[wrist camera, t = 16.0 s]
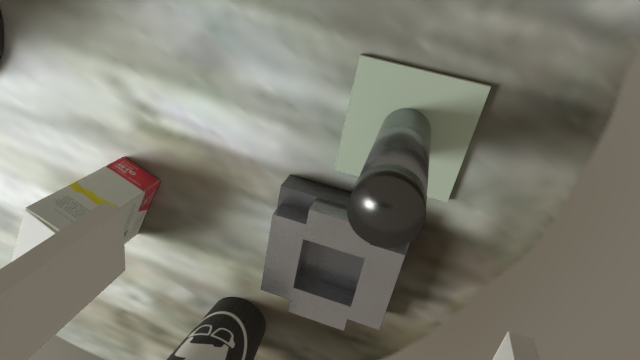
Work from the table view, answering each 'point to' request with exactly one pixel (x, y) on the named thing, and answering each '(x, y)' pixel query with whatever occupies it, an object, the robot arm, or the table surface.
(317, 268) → the block
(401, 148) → the dark glossy cylinder
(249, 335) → the coffee cup
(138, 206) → the ink box
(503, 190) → the table surface
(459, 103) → the mat
